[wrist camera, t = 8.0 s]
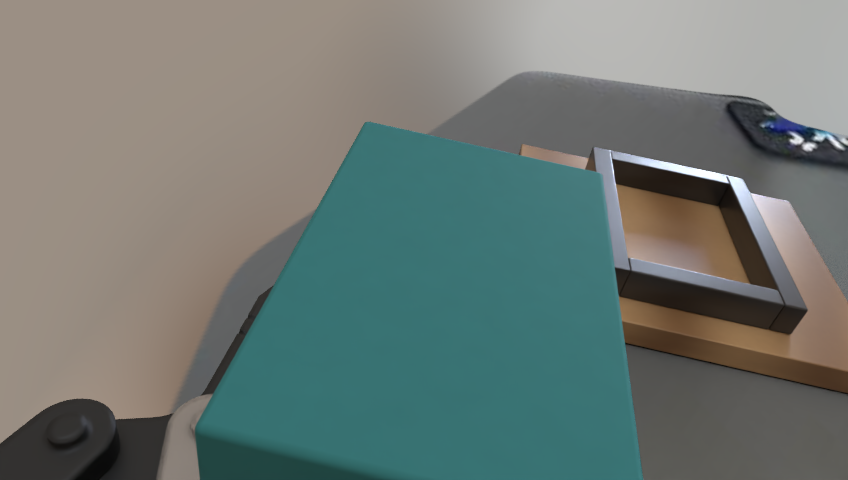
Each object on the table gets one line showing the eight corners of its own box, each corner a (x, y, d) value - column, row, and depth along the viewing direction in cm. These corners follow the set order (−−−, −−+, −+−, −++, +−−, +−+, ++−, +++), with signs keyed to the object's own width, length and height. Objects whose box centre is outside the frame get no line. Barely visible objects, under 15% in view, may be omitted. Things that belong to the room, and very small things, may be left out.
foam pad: (226, 743, 12) (189, 428, 6) (329, 439, 18) (365, 118, 12) (455, 804, 12) (655, 542, 6) (486, 476, 17) (603, 171, 11)
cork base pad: (502, 315, 27) (518, 267, 25) (516, 161, 38) (528, 120, 36) (877, 400, 26) (918, 357, 24) (779, 217, 37) (802, 179, 36)
